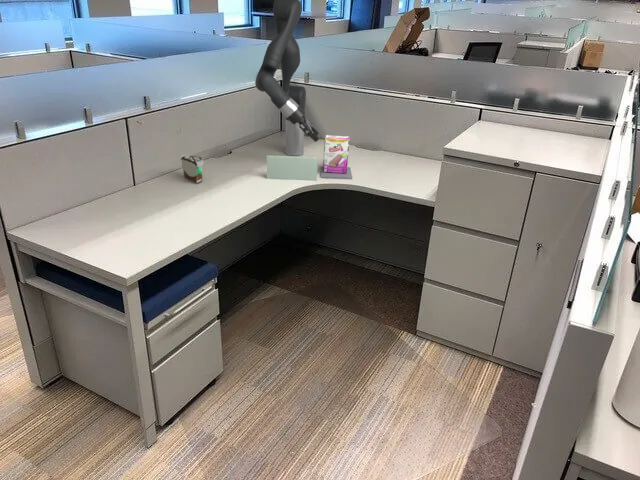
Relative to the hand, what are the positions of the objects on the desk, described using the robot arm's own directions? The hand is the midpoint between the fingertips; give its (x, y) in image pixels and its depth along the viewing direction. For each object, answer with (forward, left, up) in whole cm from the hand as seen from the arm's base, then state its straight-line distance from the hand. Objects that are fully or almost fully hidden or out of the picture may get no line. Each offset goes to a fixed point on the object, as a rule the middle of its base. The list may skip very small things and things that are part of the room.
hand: (317, 137), depth 224 cm
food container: (+14, -52, -17) cm, 56 cm away
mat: (0, +9, -16) cm, 19 cm away
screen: (+9, -11, -16) cm, 22 cm away
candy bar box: (0, +9, -16) cm, 18 cm away
